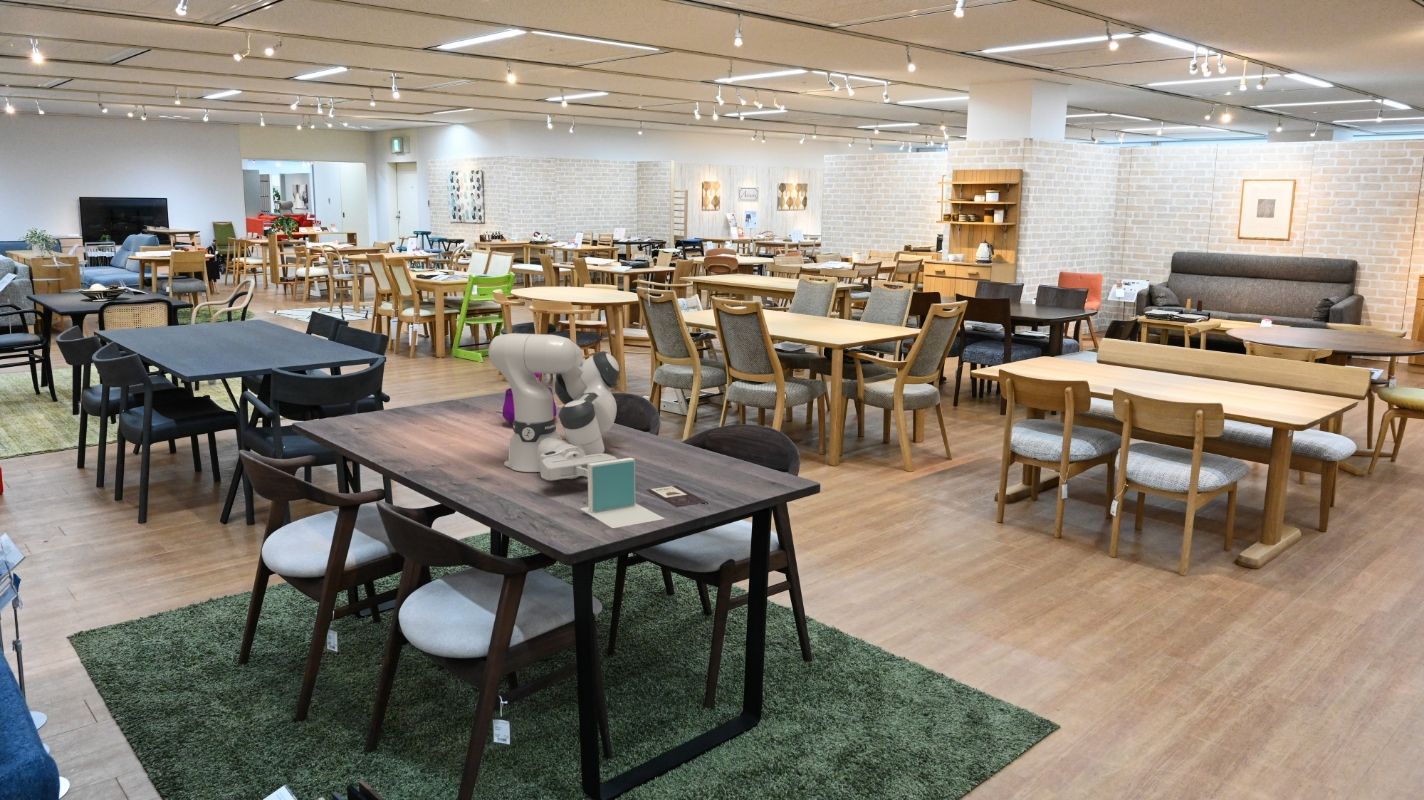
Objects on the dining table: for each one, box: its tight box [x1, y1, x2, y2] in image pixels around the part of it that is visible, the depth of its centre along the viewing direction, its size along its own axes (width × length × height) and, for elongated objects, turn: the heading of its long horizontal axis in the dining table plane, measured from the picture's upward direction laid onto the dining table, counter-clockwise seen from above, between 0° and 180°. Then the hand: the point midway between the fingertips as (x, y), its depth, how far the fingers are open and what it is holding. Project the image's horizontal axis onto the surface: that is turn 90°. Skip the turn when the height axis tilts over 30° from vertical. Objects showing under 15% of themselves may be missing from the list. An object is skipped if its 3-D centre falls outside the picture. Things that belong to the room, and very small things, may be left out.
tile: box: [587, 457, 636, 513], centre depth 243 cm, size 2×12×12 cm, turn 122°
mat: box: [579, 502, 666, 529], centre depth 240 cm, size 18×14×1 cm
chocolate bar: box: [646, 485, 709, 508], centre depth 255 cm, size 9×1×18 cm
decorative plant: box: [502, 373, 558, 424], centre depth 342 cm, size 19×18×30 cm
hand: (591, 473), depth 253 cm, fingers closed
